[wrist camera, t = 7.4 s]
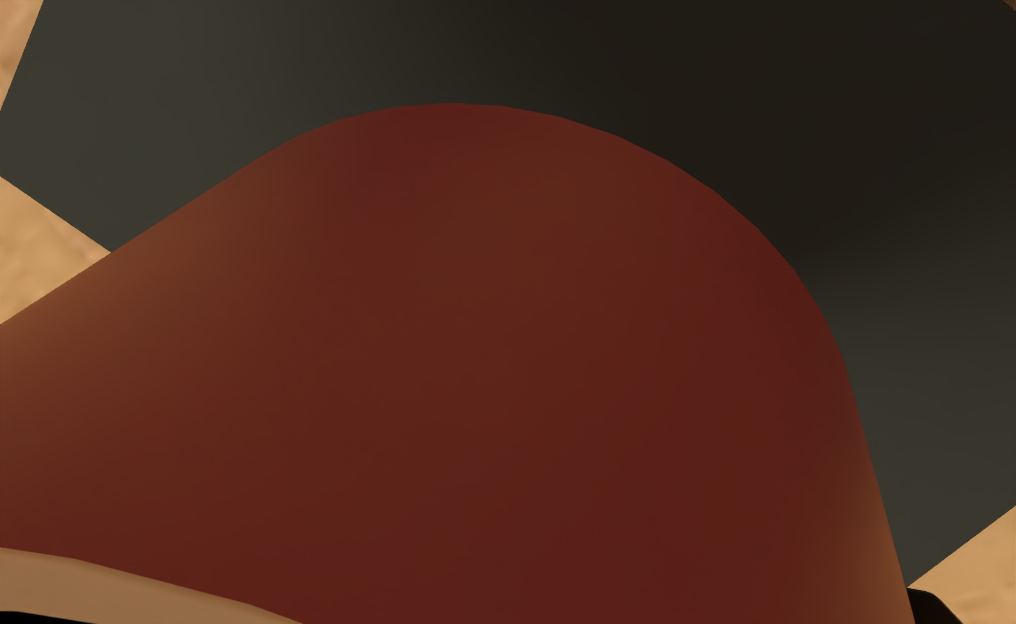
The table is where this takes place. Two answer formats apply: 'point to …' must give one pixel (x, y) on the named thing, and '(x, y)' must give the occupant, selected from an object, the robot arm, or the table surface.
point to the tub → (439, 400)
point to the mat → (639, 120)
